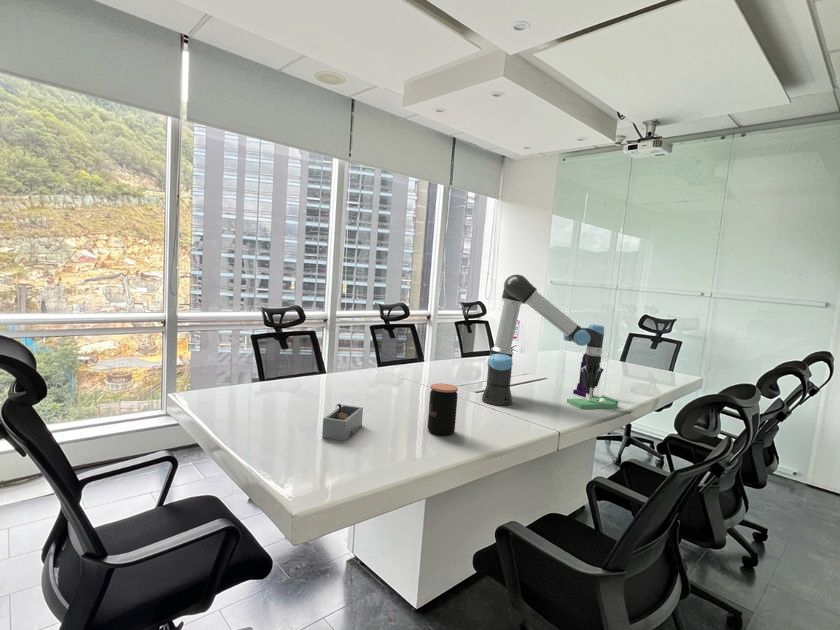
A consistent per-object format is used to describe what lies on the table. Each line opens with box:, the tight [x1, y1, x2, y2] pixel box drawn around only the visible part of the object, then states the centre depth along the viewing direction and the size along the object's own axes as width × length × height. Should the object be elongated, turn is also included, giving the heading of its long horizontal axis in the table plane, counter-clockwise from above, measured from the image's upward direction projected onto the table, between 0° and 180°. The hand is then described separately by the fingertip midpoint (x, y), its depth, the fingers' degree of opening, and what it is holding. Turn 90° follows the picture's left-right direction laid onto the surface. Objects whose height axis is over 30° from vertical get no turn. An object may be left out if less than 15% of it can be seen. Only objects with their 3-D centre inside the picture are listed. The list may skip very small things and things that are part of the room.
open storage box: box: [321, 404, 364, 442], centre depth 168 cm, size 8×18×7 cm, turn 168°
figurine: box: [335, 403, 355, 435], centre depth 168 cm, size 14×4×9 cm, turn 30°
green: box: [566, 394, 619, 410], centre depth 233 cm, size 23×11×4 cm, turn 108°
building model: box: [572, 352, 594, 398], centre depth 253 cm, size 9×6×30 cm
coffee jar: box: [427, 382, 459, 437], centre depth 175 cm, size 11×11×18 cm
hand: (588, 399), depth 233 cm, fingers closed
